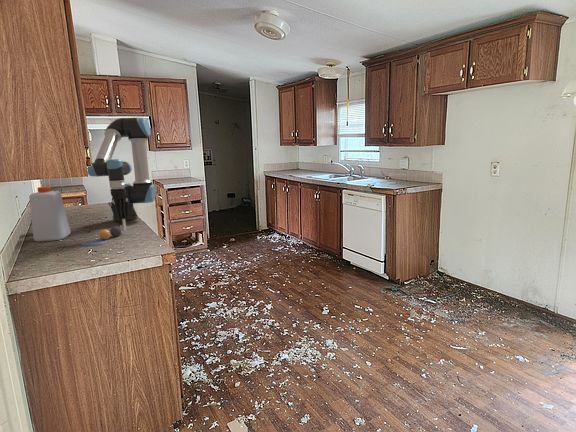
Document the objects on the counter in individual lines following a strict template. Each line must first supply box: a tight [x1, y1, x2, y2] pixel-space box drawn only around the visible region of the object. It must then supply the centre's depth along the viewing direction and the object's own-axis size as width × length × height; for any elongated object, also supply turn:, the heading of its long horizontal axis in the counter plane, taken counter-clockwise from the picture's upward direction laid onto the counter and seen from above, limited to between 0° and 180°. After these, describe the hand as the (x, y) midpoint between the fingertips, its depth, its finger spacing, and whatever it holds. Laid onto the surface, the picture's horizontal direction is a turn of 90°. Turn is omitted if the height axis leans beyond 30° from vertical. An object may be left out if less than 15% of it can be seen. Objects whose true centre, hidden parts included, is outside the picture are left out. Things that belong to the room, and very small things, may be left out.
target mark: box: [81, 238, 109, 247], centre depth 184 cm, size 12×12×1 cm
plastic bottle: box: [28, 185, 72, 243], centre depth 194 cm, size 15×15×28 cm
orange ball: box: [98, 228, 112, 240], centre depth 189 cm, size 6×6×6 cm
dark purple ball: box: [109, 225, 122, 237], centre depth 195 cm, size 6×6×6 cm
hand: (123, 230), depth 200 cm, fingers closed
